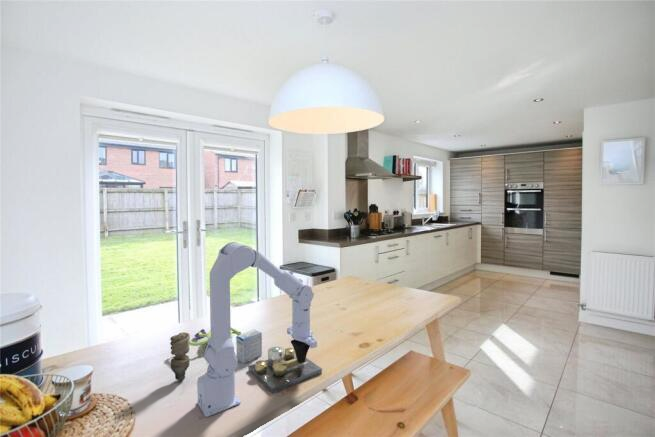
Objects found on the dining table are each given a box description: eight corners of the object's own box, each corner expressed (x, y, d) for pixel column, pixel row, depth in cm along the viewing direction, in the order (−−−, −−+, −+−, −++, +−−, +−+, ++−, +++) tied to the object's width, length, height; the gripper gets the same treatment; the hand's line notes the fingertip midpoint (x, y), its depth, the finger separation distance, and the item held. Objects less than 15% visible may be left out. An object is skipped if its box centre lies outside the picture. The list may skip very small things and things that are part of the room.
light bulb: (193, 376, 103) (192, 329, 102) (186, 386, 97) (185, 337, 96) (175, 376, 103) (174, 330, 102) (167, 386, 97) (166, 337, 96)
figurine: (169, 364, 111) (168, 348, 111) (200, 332, 138) (200, 319, 138) (222, 364, 111) (222, 348, 111) (243, 332, 138) (243, 319, 137)
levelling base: (272, 393, 94) (272, 371, 93) (248, 370, 106) (248, 350, 106) (321, 373, 105) (321, 353, 104) (295, 354, 117) (295, 336, 117)
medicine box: (254, 351, 119) (254, 328, 119) (262, 355, 117) (262, 331, 116) (236, 360, 113) (235, 335, 113) (244, 364, 110) (243, 339, 110)
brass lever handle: (277, 377, 99) (277, 368, 99) (270, 371, 102) (270, 362, 102) (308, 365, 106) (308, 357, 106) (300, 360, 109) (300, 352, 109)
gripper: (324, 324, 101) (324, 366, 102) (299, 311, 112) (299, 350, 113) (306, 330, 97) (306, 374, 97) (281, 316, 108) (281, 356, 109)
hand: (301, 361), depth 105 cm, fingers closed
